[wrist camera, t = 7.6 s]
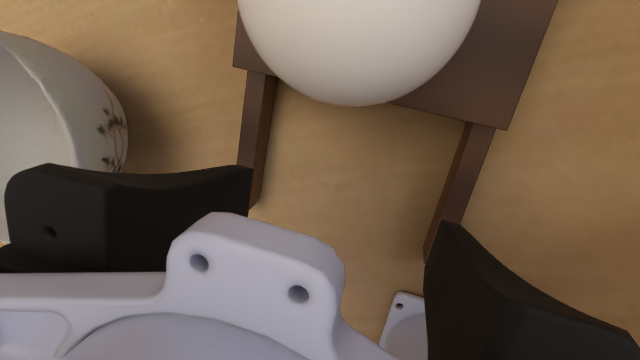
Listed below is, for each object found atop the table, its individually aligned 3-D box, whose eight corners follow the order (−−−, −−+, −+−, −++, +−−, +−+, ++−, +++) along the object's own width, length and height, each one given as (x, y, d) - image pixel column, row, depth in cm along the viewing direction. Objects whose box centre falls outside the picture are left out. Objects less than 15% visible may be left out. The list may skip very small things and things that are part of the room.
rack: (441, 252, 25) (447, 305, 20) (243, 195, 27) (204, 230, 22) (557, -63, 18) (613, -105, 13) (282, -106, 20) (237, -157, 15)
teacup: (1, 31, 27) (-154, 26, 20) (152, 22, 24) (37, 13, 17) (56, 221, 32) (-51, 273, 25) (187, 233, 29) (110, 296, 22)
